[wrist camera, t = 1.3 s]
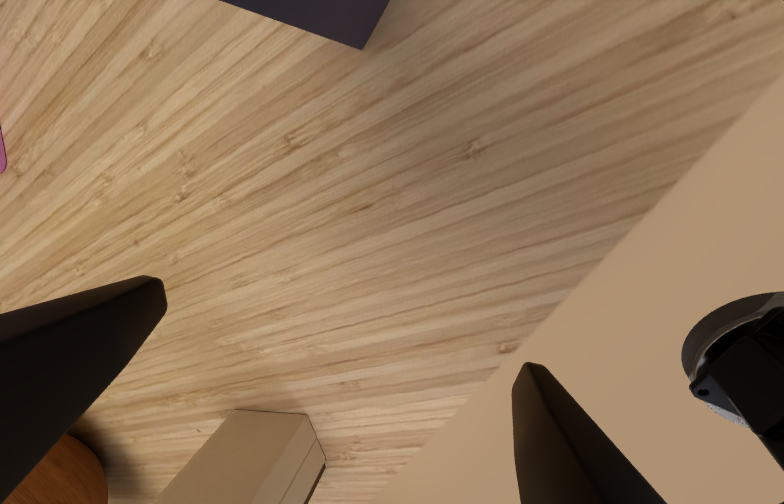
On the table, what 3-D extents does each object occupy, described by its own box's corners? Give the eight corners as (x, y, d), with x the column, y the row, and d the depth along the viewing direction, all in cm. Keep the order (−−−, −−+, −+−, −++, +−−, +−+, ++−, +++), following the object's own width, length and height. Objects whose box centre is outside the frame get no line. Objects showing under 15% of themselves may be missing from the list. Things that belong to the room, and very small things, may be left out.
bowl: (2, 358, 47) (-193, 457, 34) (148, 443, 44) (-5, 589, 31) (37, 455, 59) (-97, 557, 46) (154, 528, 56) (46, 659, 43)
